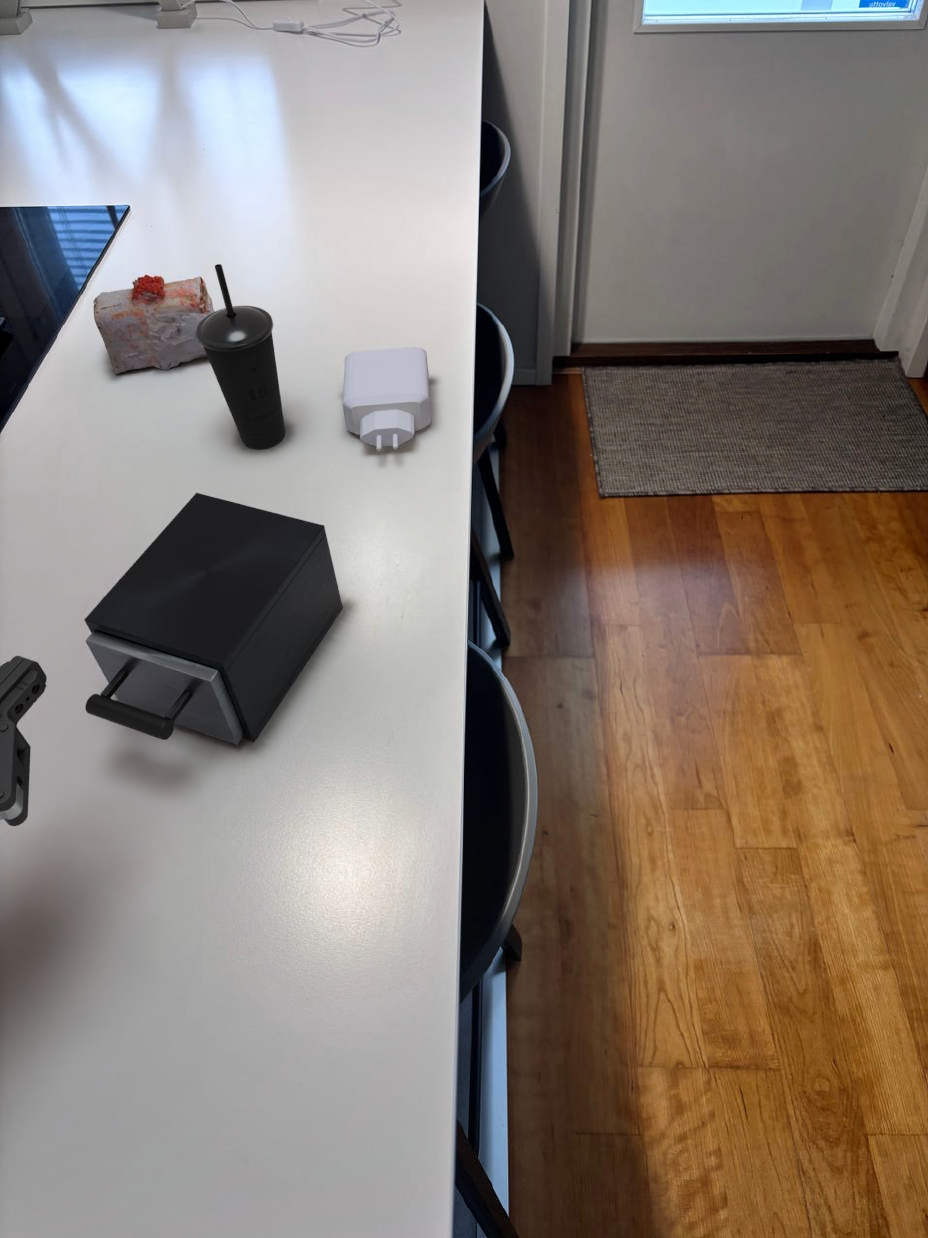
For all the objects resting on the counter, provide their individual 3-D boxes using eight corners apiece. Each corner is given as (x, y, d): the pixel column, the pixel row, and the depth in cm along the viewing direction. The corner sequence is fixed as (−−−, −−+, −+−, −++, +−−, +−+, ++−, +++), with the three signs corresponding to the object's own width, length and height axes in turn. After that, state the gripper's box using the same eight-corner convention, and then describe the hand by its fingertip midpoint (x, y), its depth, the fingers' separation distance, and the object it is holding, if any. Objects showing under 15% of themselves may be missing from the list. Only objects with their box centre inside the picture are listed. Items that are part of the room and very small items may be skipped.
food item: (222, 328, 120) (201, 254, 113) (227, 362, 115) (206, 287, 107) (113, 348, 118) (84, 274, 111) (113, 384, 113) (83, 309, 106)
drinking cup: (215, 436, 105) (162, 266, 90) (272, 406, 108) (230, 237, 93) (253, 467, 101) (204, 295, 86) (311, 435, 104) (274, 264, 89)
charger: (346, 470, 100) (349, 387, 110) (433, 463, 100) (429, 381, 110) (339, 434, 96) (343, 351, 106) (429, 427, 96) (425, 345, 106)
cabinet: (254, 742, 78) (223, 663, 70) (126, 698, 81) (83, 619, 74) (343, 607, 87) (324, 525, 79) (225, 574, 91) (196, 492, 83)
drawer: (208, 788, 74) (177, 726, 68) (88, 745, 77) (48, 682, 71) (323, 617, 85) (306, 550, 79) (214, 586, 88) (189, 519, 82)
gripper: (-126, 918, 46) (96, 656, 56) (-313, 830, 50) (-73, 600, 60) (-54, 978, 51) (136, 730, 62) (-227, 894, 55) (-21, 674, 66)
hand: (32, 666), depth 61 cm, fingers closed
